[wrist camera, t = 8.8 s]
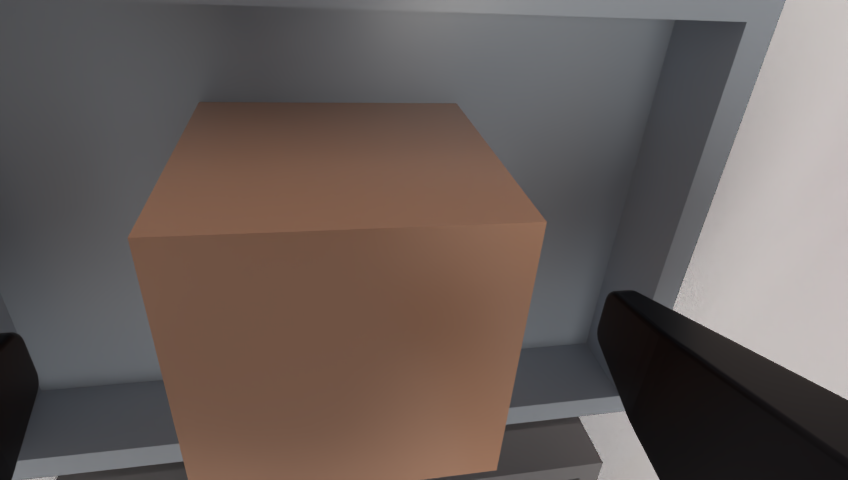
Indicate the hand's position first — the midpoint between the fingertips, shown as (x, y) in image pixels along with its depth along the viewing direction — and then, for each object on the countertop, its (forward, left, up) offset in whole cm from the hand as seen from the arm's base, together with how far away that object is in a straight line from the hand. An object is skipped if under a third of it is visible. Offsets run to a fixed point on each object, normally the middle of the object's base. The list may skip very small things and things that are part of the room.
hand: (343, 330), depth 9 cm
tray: (0, 0, -4) cm, 5 cm away
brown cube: (0, 0, -4) cm, 4 cm away
